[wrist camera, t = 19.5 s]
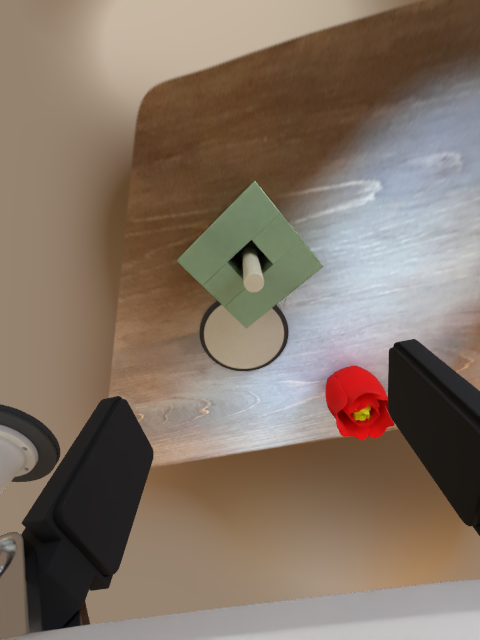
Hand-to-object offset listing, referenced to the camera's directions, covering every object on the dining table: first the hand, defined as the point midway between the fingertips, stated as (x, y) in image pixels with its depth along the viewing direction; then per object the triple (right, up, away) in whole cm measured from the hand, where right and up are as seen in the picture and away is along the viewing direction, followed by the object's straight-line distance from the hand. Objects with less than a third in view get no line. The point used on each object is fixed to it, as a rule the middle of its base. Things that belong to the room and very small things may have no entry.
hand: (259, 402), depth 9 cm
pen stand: (0, +11, +22) cm, 25 cm away
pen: (0, +11, +22) cm, 25 cm away
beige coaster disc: (0, +1, +27) cm, 27 cm away
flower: (+15, -6, +30) cm, 34 cm away
